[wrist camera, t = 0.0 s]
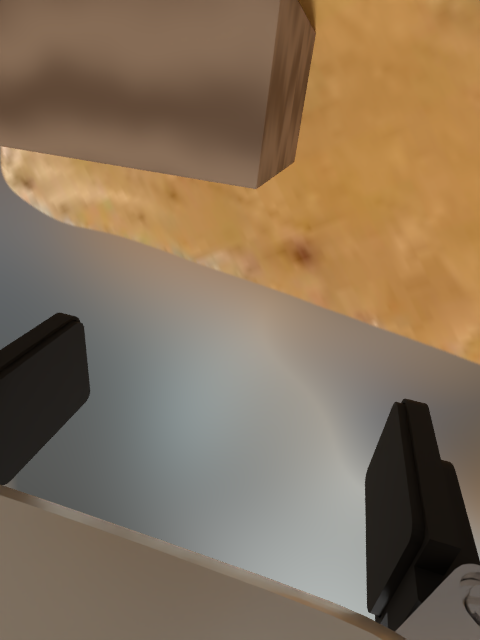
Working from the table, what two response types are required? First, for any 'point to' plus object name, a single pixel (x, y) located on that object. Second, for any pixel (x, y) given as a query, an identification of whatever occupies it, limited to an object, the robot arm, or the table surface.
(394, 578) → the robot arm
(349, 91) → the table surface
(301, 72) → the wooden bridge block
